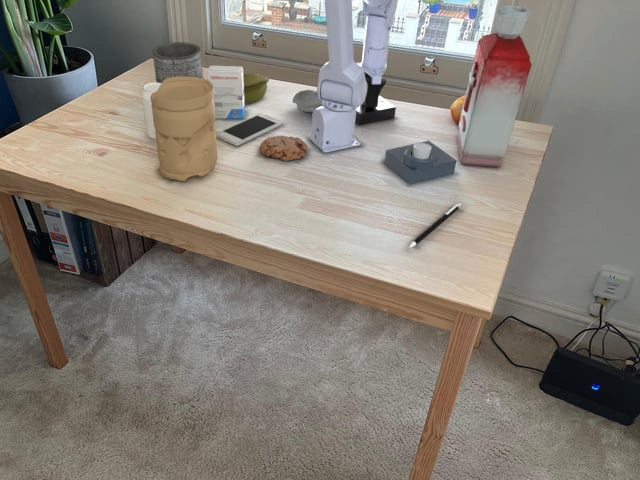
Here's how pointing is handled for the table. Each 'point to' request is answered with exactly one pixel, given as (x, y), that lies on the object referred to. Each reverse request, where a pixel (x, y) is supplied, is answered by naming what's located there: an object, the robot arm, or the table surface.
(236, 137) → the smartphone
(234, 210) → the table surface
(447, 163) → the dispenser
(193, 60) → the planter
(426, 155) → the white short cylinder
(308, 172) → the table surface
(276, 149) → the cookie
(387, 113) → the tap plate
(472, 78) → the bottle
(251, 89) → the olive green bowl
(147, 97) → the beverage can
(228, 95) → the ink box
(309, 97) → the seashell
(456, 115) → the fruit
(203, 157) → the container
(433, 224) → the pen
